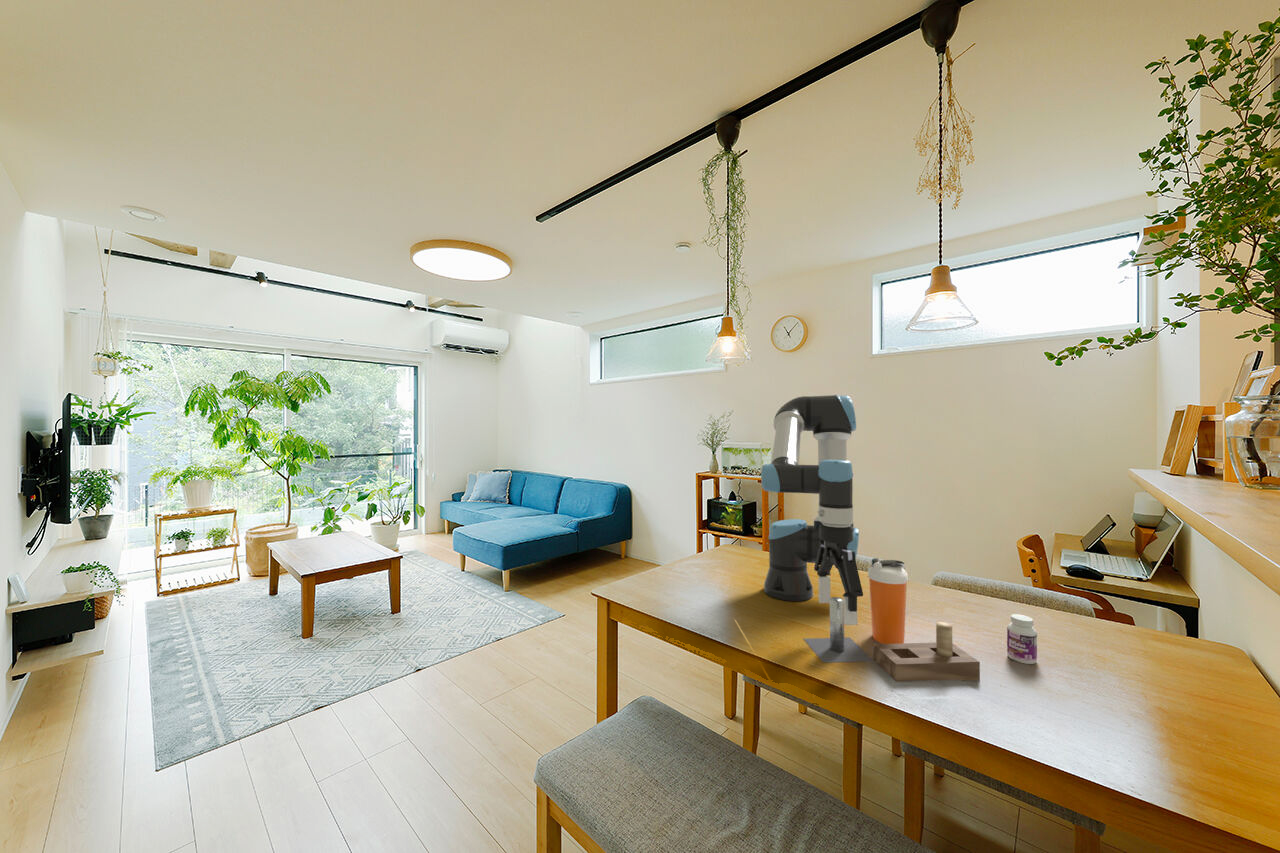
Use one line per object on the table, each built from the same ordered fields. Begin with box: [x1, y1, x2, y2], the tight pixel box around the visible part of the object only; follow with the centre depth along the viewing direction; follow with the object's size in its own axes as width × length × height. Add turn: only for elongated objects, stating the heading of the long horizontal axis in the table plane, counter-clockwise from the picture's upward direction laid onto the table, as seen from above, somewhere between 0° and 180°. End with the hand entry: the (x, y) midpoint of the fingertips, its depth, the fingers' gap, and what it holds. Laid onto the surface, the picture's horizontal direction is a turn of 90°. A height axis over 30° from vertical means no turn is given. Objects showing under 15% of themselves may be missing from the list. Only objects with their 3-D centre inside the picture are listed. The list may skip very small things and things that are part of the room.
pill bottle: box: [1006, 613, 1038, 665], centre depth 108 cm, size 5×5×10 cm
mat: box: [803, 636, 875, 664], centre depth 113 cm, size 12×12×1 cm
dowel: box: [935, 621, 953, 657], centre depth 104 cm, size 3×3×10 cm
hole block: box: [873, 642, 981, 683], centre depth 104 cm, size 9×18×4 cm, turn 92°
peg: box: [829, 596, 845, 652], centre depth 113 cm, size 3×3×12 cm
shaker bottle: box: [867, 557, 909, 644], centre depth 118 cm, size 9×9×20 cm
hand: (836, 613), depth 113 cm, fingers open, 13 cm apart
